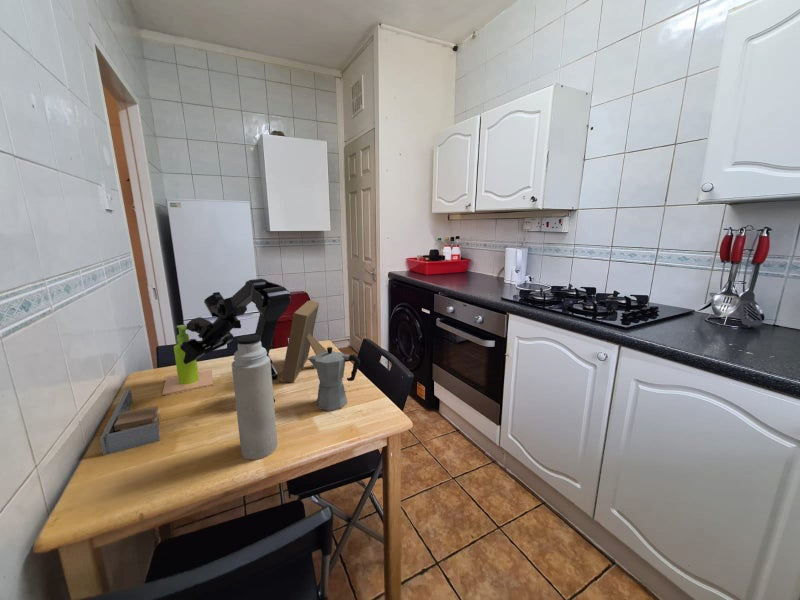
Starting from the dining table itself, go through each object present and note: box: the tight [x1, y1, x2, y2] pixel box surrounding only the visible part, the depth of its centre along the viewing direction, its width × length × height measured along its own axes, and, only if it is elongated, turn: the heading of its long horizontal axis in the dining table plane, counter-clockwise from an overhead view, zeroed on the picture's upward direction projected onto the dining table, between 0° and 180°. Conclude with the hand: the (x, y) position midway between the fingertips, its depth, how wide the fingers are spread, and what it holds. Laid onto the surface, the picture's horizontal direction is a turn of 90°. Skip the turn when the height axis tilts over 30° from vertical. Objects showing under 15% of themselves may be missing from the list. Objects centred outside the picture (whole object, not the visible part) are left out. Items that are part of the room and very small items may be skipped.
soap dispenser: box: [173, 324, 199, 384], centre depth 110 cm, size 6×7×20 cm
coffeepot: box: [307, 346, 361, 412], centre depth 96 cm, size 15×9×18 cm, turn 90°
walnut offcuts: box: [114, 405, 162, 431], centre depth 85 cm, size 8×8×4 cm
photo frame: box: [280, 300, 328, 384], centre depth 120 cm, size 15×22×25 cm
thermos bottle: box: [231, 334, 278, 460], centre depth 74 cm, size 8×8×28 cm
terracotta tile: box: [161, 369, 214, 397], centre depth 112 cm, size 14×14×1 cm
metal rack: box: [99, 388, 161, 456], centre depth 88 cm, size 28×11×4 cm, turn 31°
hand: (195, 357), depth 109 cm, fingers open, 9 cm apart
